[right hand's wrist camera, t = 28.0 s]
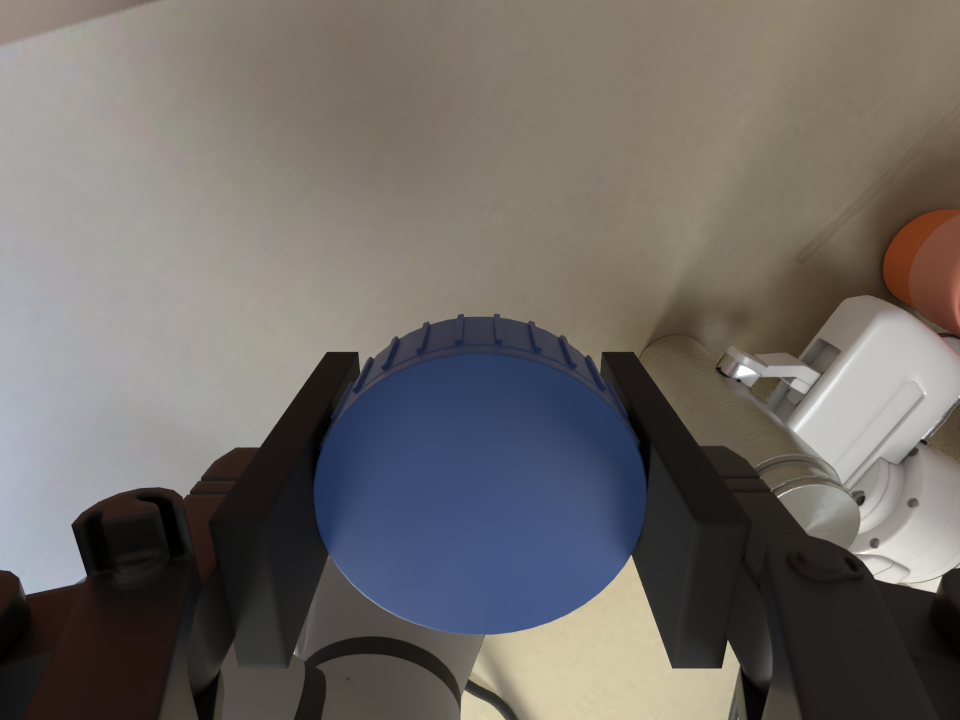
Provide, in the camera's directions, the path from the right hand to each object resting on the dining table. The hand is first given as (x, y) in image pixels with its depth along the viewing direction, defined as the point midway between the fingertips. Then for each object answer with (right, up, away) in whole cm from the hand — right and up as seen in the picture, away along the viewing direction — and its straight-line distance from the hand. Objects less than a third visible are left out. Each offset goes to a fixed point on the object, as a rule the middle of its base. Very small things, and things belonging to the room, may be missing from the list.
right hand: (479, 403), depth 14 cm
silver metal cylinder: (+13, 0, +26) cm, 29 cm away
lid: (0, -1, -4) cm, 4 cm away
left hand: (+13, -1, +20) cm, 23 cm away
